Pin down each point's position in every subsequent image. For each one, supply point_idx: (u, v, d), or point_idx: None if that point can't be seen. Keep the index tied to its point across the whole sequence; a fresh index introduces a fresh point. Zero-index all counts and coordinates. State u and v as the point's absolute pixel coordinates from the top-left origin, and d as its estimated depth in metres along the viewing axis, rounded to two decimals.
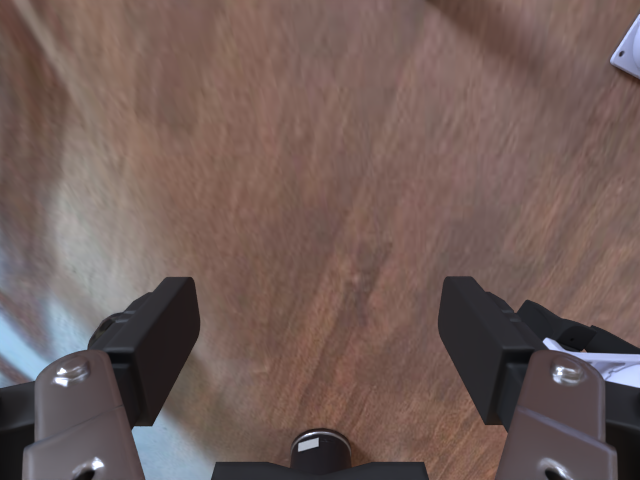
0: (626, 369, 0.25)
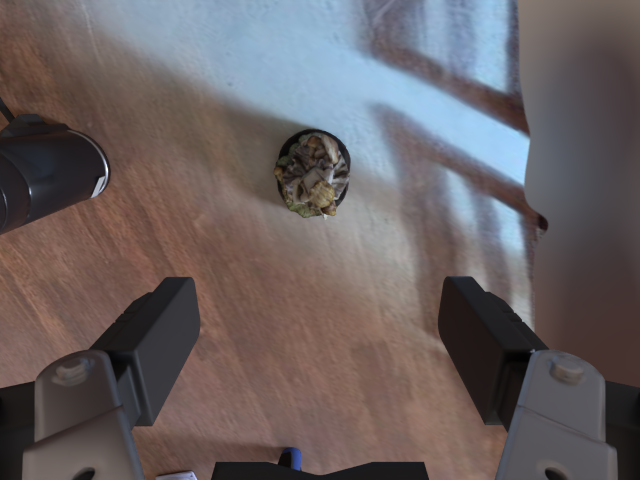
0: None
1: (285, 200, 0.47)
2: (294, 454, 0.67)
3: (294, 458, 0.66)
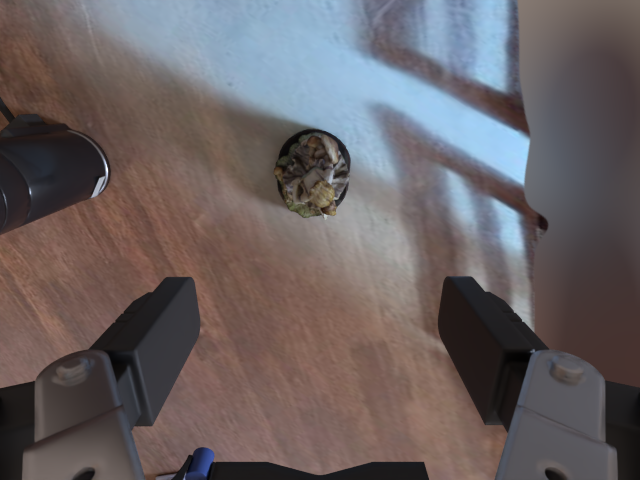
0: None
1: (285, 200, 0.47)
2: (195, 455, 0.60)
3: (194, 459, 0.59)
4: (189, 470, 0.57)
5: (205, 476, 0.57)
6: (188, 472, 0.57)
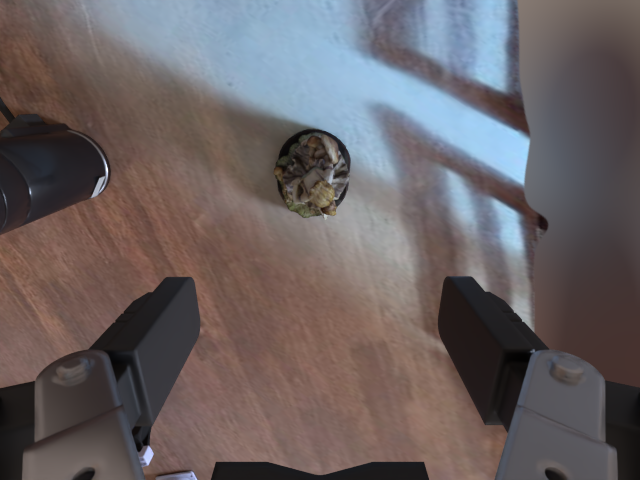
0: None
1: (285, 200, 0.47)
2: None
3: None
4: None
5: None
6: None
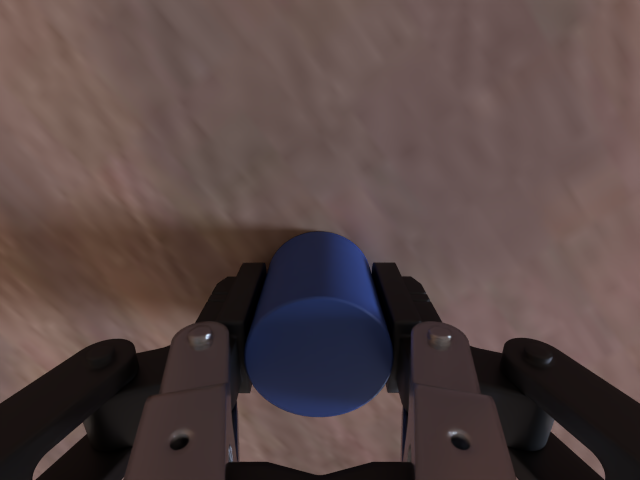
0: None
1: None
2: (267, 275, 0.11)
3: (265, 285, 0.10)
4: (249, 331, 0.09)
5: (359, 310, 0.08)
6: None
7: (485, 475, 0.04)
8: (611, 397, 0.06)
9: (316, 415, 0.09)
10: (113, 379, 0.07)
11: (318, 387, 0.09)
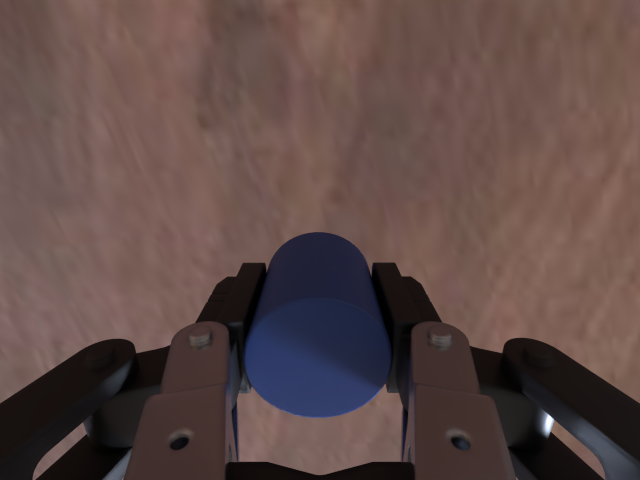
0: None
1: None
2: (266, 276, 0.11)
3: (264, 286, 0.10)
4: (248, 331, 0.09)
5: (358, 311, 0.08)
6: None
7: (485, 475, 0.04)
8: (611, 397, 0.06)
9: (315, 416, 0.09)
10: (113, 379, 0.07)
11: (316, 388, 0.09)
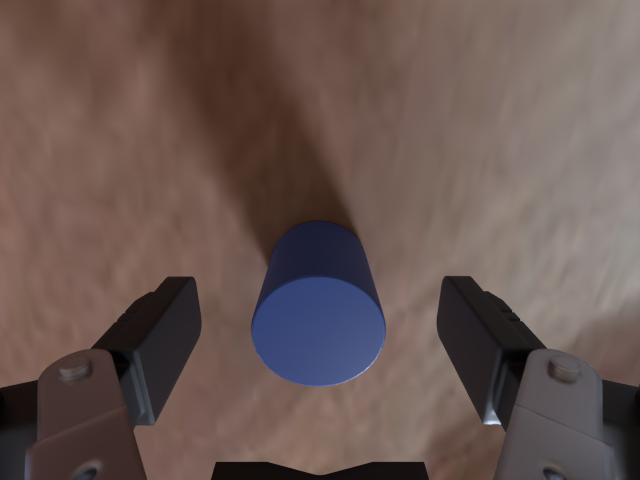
0: None
1: None
2: (271, 260, 0.12)
3: (269, 268, 0.11)
4: (256, 307, 0.10)
5: (355, 286, 0.09)
6: (254, 317, 0.09)
7: None
8: None
9: (316, 384, 0.10)
10: None
11: (317, 358, 0.10)
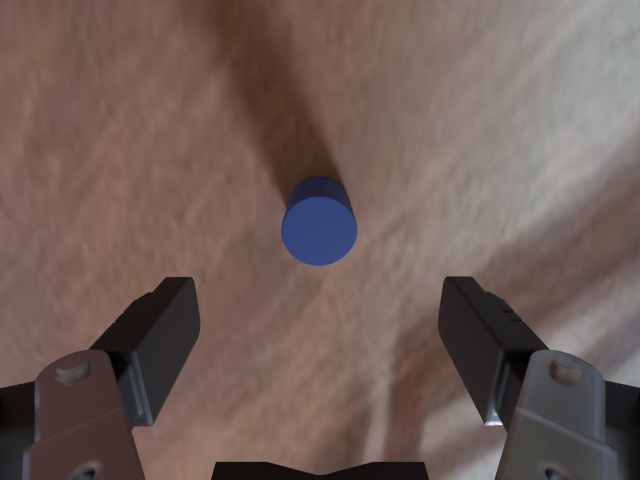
0: None
1: None
2: (290, 199, 0.19)
3: (289, 201, 0.18)
4: (284, 217, 0.17)
5: (339, 202, 0.16)
6: (283, 222, 0.17)
7: None
8: None
9: (318, 265, 0.17)
10: None
11: (318, 247, 0.17)
